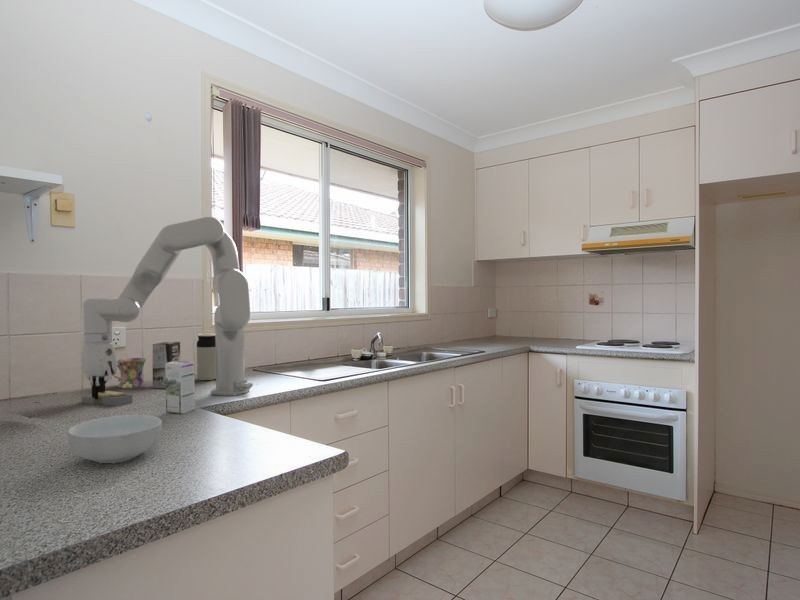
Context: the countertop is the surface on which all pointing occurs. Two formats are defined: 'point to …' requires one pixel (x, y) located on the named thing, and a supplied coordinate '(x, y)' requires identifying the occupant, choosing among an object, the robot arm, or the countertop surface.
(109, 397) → the grey tray
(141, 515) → the countertop surface
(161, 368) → the coffee box
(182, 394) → the syrup box
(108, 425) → the cereal bowl
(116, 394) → the latch bolt
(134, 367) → the mug
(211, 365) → the travel mug
